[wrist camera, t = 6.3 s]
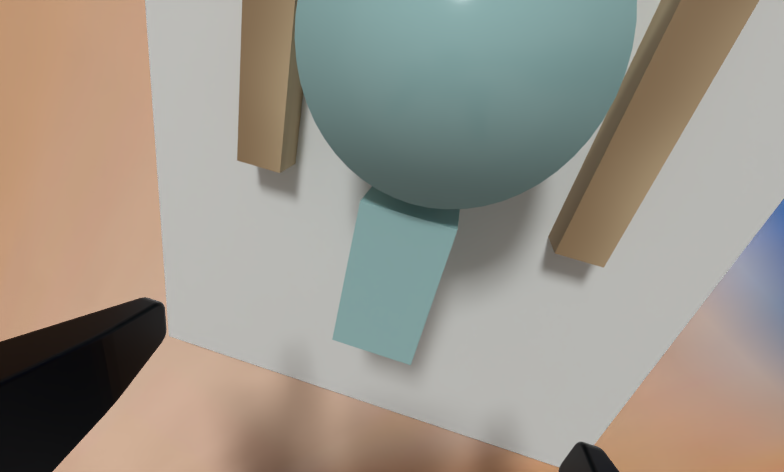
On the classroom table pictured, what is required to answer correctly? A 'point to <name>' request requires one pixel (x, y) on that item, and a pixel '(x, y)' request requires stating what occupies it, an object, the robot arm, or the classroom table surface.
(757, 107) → the board
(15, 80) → the classroom table surface
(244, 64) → the cradle
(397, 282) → the teal dome with tabs
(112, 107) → the classroom table surface
